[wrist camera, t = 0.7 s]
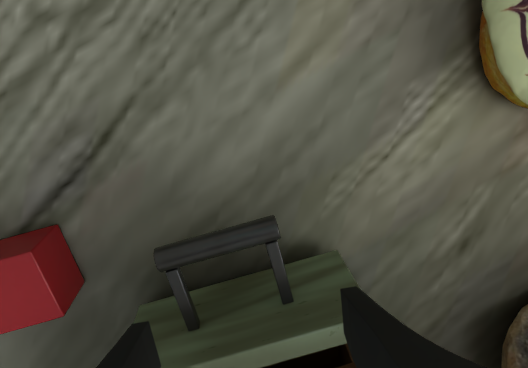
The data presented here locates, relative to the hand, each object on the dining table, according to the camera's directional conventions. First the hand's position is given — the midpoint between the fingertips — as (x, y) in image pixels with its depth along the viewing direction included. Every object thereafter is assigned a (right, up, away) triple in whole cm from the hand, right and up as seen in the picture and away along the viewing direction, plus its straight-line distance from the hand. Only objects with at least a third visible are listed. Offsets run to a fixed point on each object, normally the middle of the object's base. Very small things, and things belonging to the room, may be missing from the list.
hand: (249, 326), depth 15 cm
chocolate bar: (-15, 0, +8) cm, 17 cm away
